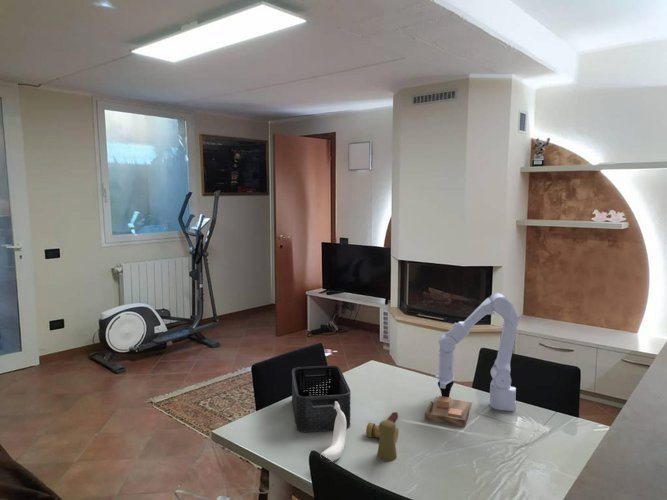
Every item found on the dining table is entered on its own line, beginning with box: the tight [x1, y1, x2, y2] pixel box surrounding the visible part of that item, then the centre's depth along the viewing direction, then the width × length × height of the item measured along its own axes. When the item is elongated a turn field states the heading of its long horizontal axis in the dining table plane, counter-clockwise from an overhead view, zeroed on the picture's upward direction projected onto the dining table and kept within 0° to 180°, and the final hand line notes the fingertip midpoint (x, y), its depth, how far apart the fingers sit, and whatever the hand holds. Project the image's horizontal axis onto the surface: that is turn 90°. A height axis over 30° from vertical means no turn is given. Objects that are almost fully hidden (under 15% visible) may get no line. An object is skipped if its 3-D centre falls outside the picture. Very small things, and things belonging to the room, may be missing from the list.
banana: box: [320, 401, 347, 462], centre depth 144 cm, size 5×19×15 cm, turn 167°
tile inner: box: [448, 408, 463, 418], centre depth 168 cm, size 4×4×2 cm
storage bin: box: [291, 365, 352, 433], centre depth 174 cm, size 29×19×13 cm
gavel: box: [365, 411, 399, 443], centre depth 163 cm, size 21×5×10 cm
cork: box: [376, 419, 398, 462], centre depth 144 cm, size 6×6×11 cm
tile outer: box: [437, 395, 452, 408], centre depth 179 cm, size 4×4×2 cm
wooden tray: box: [424, 396, 473, 428], centre depth 174 cm, size 14×22×3 cm, turn 157°
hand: (445, 399), depth 182 cm, fingers closed
